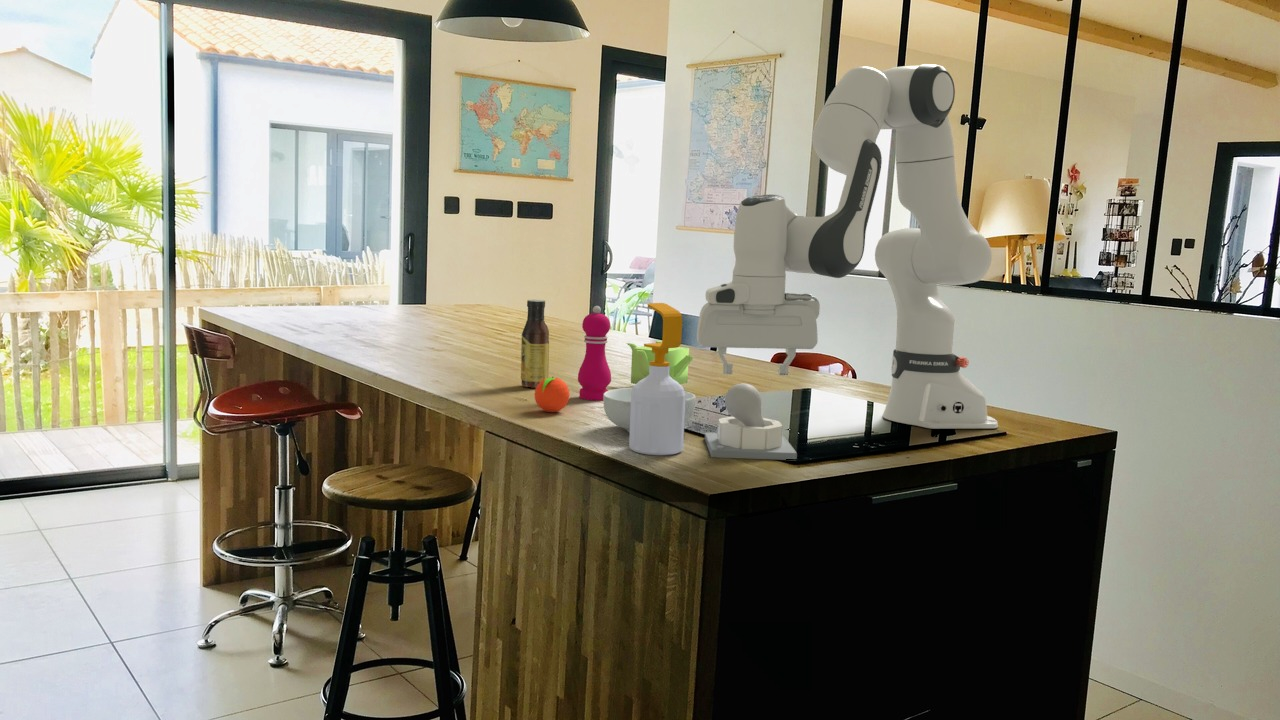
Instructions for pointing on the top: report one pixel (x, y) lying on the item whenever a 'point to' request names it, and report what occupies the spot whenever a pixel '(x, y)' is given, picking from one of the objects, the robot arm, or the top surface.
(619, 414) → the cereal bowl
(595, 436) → the top surface
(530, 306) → the sauce bottle
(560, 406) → the clementine
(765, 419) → the socket ring
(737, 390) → the lightbulb
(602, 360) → the pepper mill
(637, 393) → the soap bottle
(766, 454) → the mounting plate
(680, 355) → the kettle
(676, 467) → the top surface
